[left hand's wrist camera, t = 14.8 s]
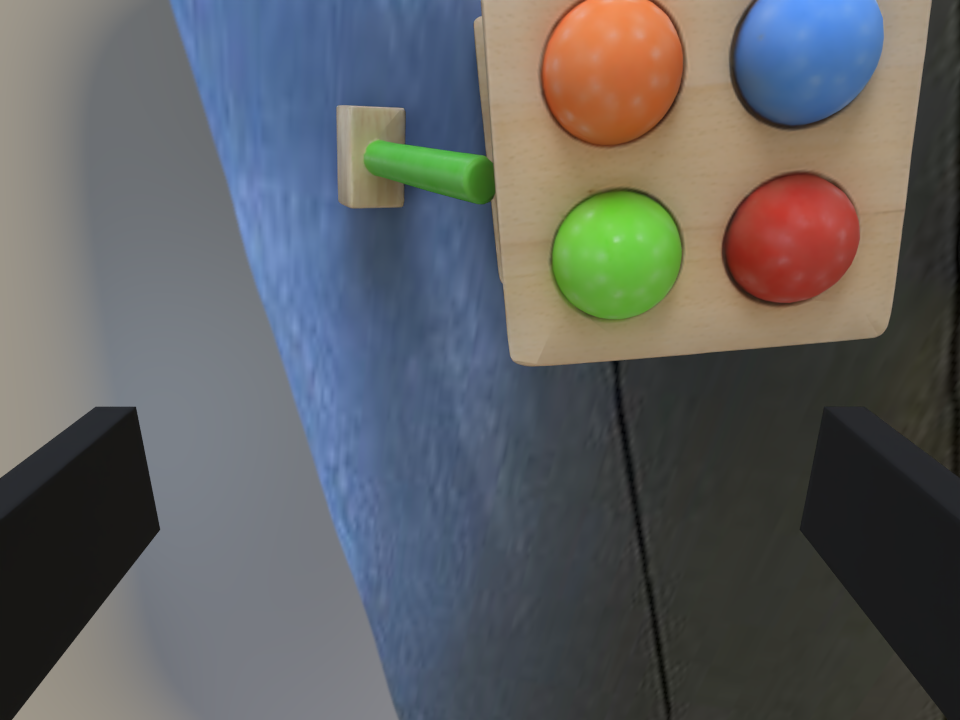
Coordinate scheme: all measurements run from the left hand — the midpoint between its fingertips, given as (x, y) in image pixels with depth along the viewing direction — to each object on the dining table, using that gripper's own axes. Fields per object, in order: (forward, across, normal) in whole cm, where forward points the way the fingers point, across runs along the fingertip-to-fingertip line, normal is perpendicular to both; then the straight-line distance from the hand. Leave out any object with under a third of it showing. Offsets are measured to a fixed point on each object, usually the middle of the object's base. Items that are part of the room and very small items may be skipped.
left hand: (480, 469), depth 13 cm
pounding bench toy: (+28, +3, +5) cm, 29 cm away
